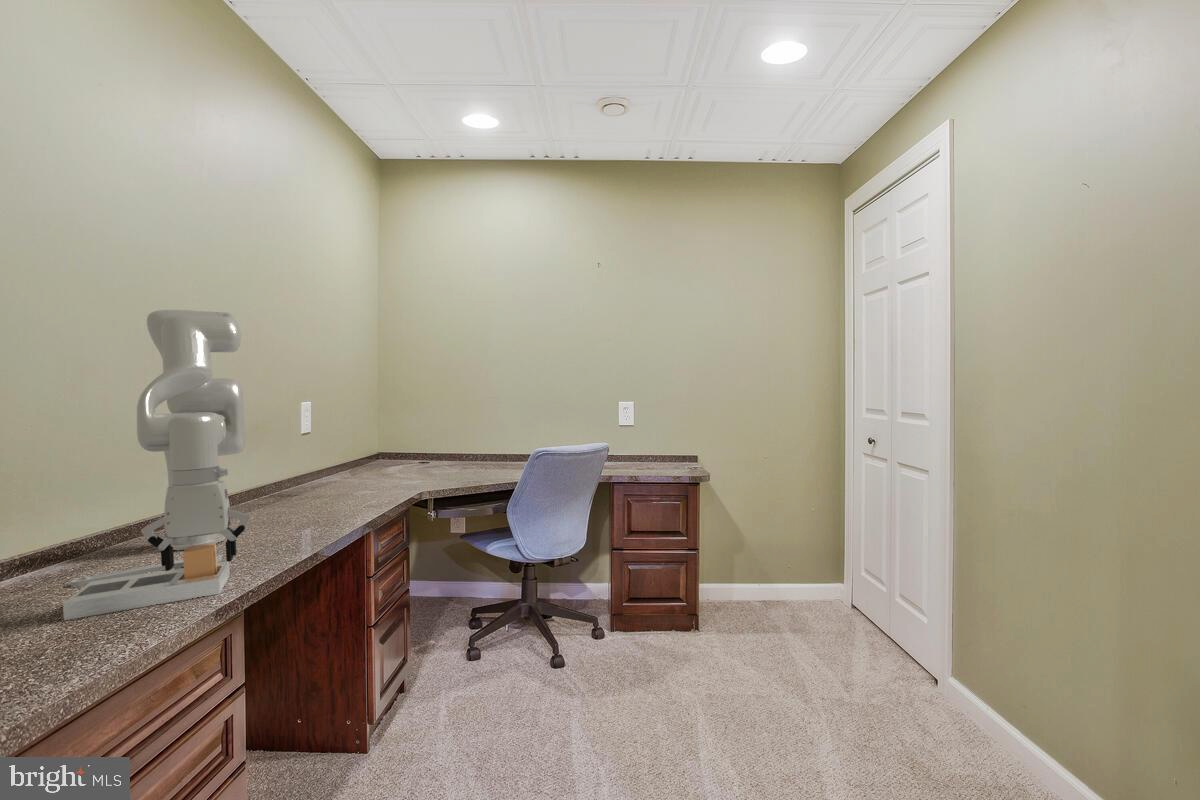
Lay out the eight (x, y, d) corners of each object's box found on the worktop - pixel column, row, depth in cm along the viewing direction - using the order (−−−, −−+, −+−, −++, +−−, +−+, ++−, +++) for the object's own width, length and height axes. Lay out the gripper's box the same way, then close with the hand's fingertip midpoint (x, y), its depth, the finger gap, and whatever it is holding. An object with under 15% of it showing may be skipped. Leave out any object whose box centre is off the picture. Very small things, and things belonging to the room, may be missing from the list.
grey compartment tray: (91, 597, 103) (90, 581, 103) (229, 575, 113) (229, 560, 113) (63, 620, 92) (62, 603, 92) (219, 593, 102) (218, 578, 102)
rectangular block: (190, 586, 107) (187, 546, 106) (217, 582, 109) (215, 543, 108) (185, 594, 103) (183, 552, 102) (214, 589, 105) (211, 548, 104)
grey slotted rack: (68, 591, 108) (67, 582, 108) (78, 581, 114) (77, 573, 114) (219, 564, 122) (219, 556, 121) (222, 557, 127) (221, 550, 127)
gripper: (250, 470, 112) (254, 551, 113) (145, 479, 104) (150, 567, 105) (245, 475, 106) (250, 561, 106) (132, 485, 98) (138, 578, 98)
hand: (200, 564), depth 105 cm, fingers open, 9 cm apart
